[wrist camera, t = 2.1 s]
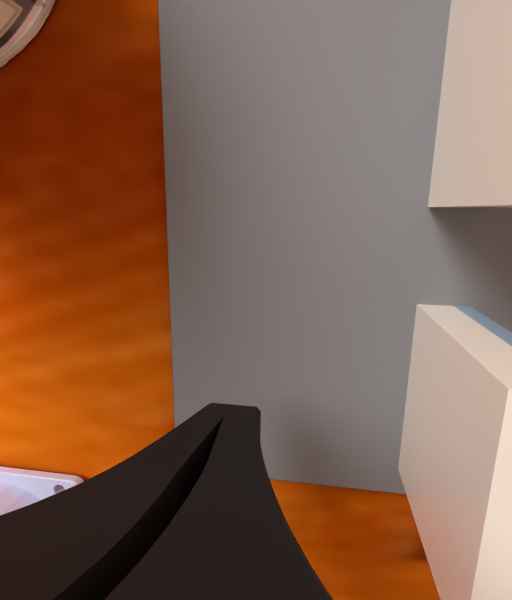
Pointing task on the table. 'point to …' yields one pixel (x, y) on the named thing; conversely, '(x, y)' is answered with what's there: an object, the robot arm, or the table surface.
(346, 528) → the table surface
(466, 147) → the tile
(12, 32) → the coffee can
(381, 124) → the mat
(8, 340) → the table surface
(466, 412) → the tile
